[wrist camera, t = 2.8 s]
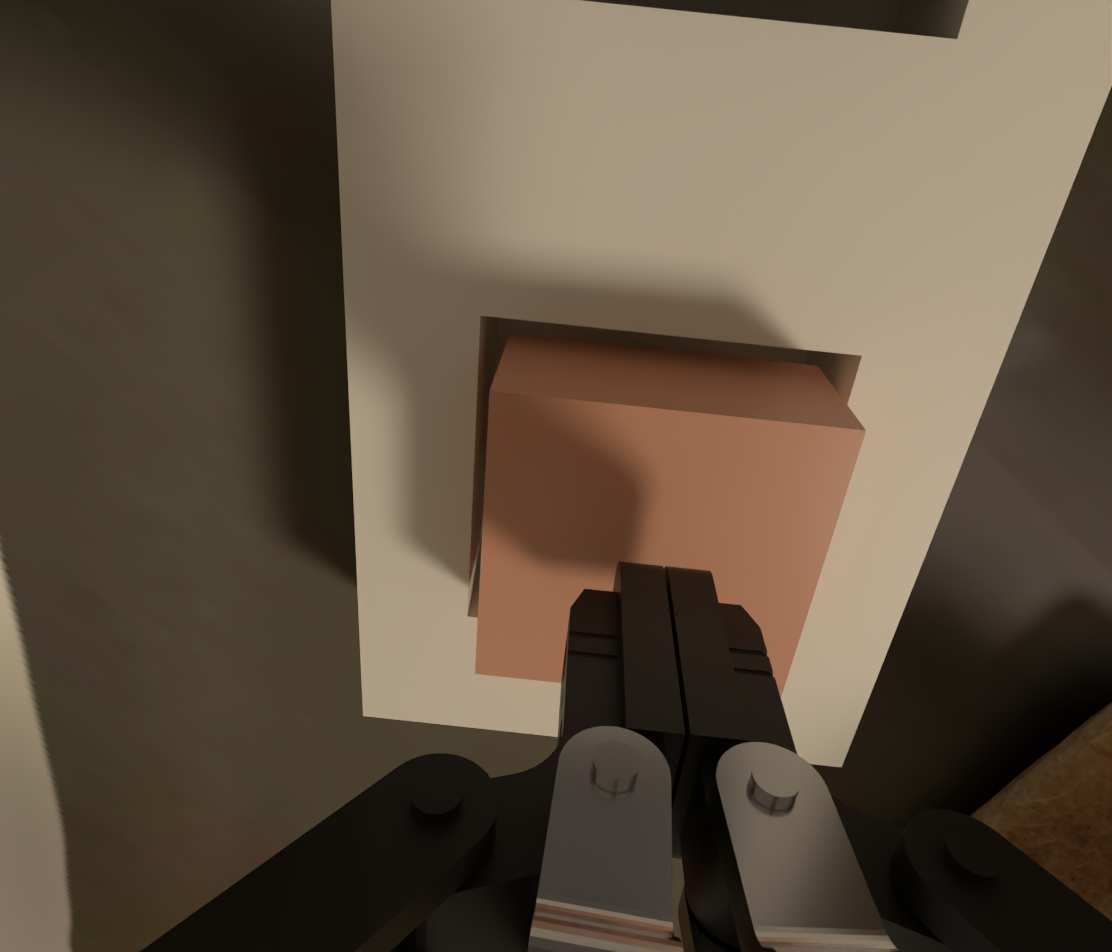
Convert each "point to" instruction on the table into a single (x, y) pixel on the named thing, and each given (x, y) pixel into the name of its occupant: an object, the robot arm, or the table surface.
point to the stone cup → (1065, 811)
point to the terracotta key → (653, 487)
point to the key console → (687, 268)
